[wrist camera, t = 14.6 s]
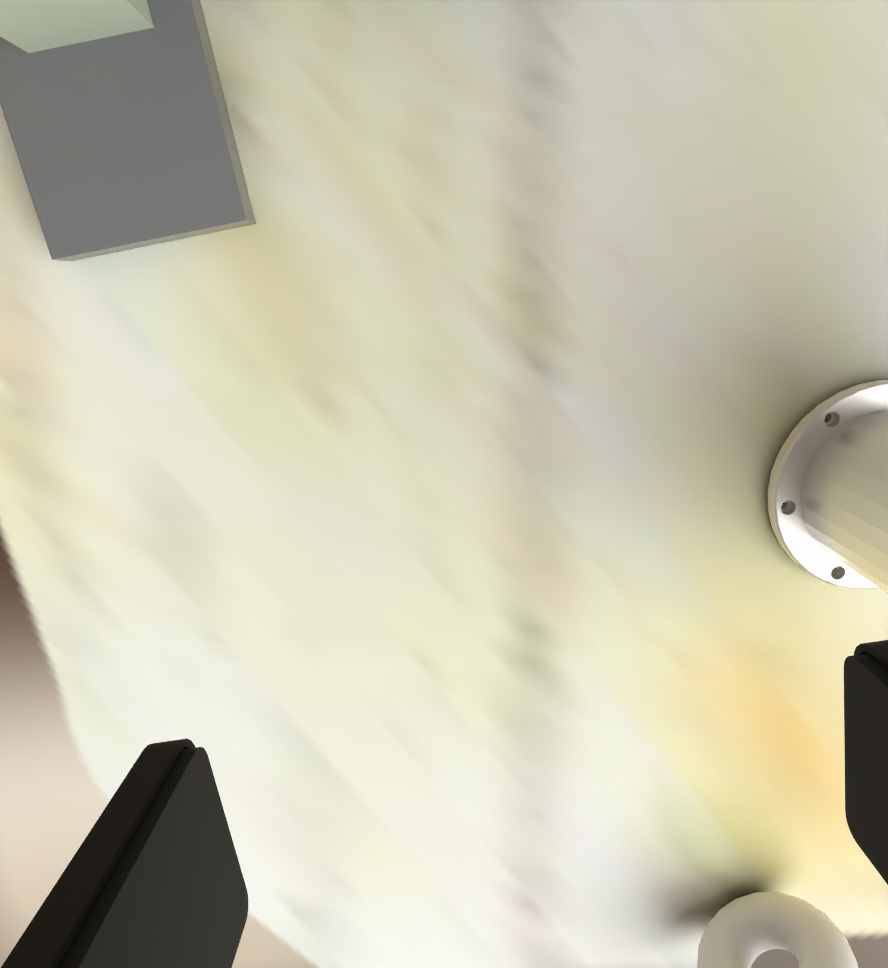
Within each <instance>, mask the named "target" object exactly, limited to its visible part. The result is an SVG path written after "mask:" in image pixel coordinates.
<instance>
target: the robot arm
mask: <svg viewBox="0 0 888 968" xmlns="http://www.w3.org/2000/svg"><path fill="white" fill-rule="evenodd" d="M826 415H827V418H826V419H825V417H826ZM783 503H784V505H783V506H782V504H783ZM768 513H769V517H770V522H771V526H772V529H773V531H774V533H775V536H776V538H777V540H778V542H779V544H780V545H781V547H782V548H783V549H784V551H785V552H786V553H787V554H788V556H789V557H790V558H791V559H792V560H793V561H795V562H796V563H797V564H798V565H799V566H801V567H802V568H803V569H804V570H806V571H807V572H809V573H810V574H812V575H813V576H815V577H817V578H818V579H820V580H823V581H825V582H827V583H830V584H833V585H837V586H842V587H848V588H877V587H879V588H881V589H882V590H884V591H885V592H887V593H888V380H877V381H872V382H867V383H861V384H858V385H855V386H853V387H850V388H848V389H845V390H843V391H840V392H838V393H836V394H835V395H833V396H831V397H830V398H828V399H826V400H825V401H823V402H821V403H820V404H819V405H817V406H816V407H815V408H814V409H813V410H812V411H810V412H809V413H808V414H807V415H806V416H805V417H803V419H802V420H801V421H800V422H799V423H798V424H797V426H796V427H795V428H794V429H793V430H792V432H791V433H790V434H789V436H788V437H787V439H786V441H785V442H784V444H783V446H782V447H781V449H780V451H779V452H778V455H777V458H776V460H775V463H774V466H773V468H772V471H771V475H770V481H769V487H768ZM844 720H845V811H846V819H847V823H848V826H849V829H850V831H851V833H852V835H853V838H854V839H855V841H856V842H857V844H858V845H859V847H860V848H861V849H862V851H863V852H864V853H865V855H866V856H867V857H868V859H869V860H870V861H871V863H872V864H873V865H874V867H875V868H876V869H877V871H878V872H879V873H880V875H881V876H882V877H883V879H884V880H885V882H886V883H887V884H888V640H885V641H878V642H871V643H864V644H860V645H858V646H857V647H856V649H855V652H854V656H848V657H847V658H846V660H845V662H844ZM247 913H248V894H247V889H246V886H245V882H244V879H243V875H242V872H241V868H240V865H239V862H238V858H237V855H236V851H235V848H234V844H233V841H232V838H231V834H230V831H229V827H228V824H227V820H226V817H225V813H224V810H223V807H222V803H221V800H220V796H219V793H218V789H217V786H216V783H215V779H214V776H213V772H212V769H211V765H210V762H209V758H208V755H207V753H206V751H205V750H204V748H202V747H198V748H195V746H194V744H193V743H192V741H191V740H189V739H182V740H175V741H168V742H161V743H154V744H150V745H148V746H147V747H146V748H145V749H144V750H143V752H142V753H141V755H140V756H139V758H138V759H137V761H136V762H135V764H134V765H133V767H132V768H131V770H130V771H129V773H128V774H127V776H126V778H125V779H124V781H123V782H122V784H121V785H120V787H119V788H118V790H117V791H116V793H115V794H114V796H113V797H112V799H111V800H110V802H109V804H108V805H107V807H106V808H105V810H104V811H103V813H102V814H101V816H100V817H99V819H98V820H97V822H96V823H95V825H94V827H93V828H92V829H91V831H90V833H89V834H88V836H87V837H86V839H85V840H84V842H83V843H82V845H81V846H80V848H79V849H78V851H77V852H76V854H75V855H74V857H73V858H72V860H71V862H70V863H69V865H68V866H67V868H66V869H65V871H64V872H63V874H62V875H61V877H60V879H59V880H58V882H57V883H56V884H55V886H54V888H53V889H52V891H51V892H50V894H49V895H48V897H47V898H46V900H45V901H44V903H43V904H42V906H41V907H40V909H39V910H38V912H37V914H36V915H35V917H34V918H33V920H32V921H31V923H30V924H29V926H28V927H27V929H26V930H25V932H24V933H23V935H22V936H21V938H20V939H19V941H18V943H17V944H16V946H15V947H14V949H13V950H12V952H11V953H10V955H9V956H8V958H7V959H6V961H5V962H4V964H3V965H2V967H1V968H231V967H232V964H233V960H234V958H235V954H236V951H237V948H238V945H239V942H240V939H241V935H242V932H243V929H244V926H245V923H246V919H247Z"/></svg>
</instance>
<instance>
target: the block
mask: <svg viewBox="0 0 888 968" xmlns="http://www.w3.org/2000/svg"><path fill="white" fill-rule="evenodd" d="M150 28H154V26H153V22H152V18H151V15H150V11H149V7H148V3H147V0H0V37H2V38H4V39H5V40H7V41H9V42H10V43H12V44H14V45H16V46H17V47H19V48H21V49H22V50H24V51H26V52H27V53H32V52H37V51H42V50H47V49H52V48H57V47H61V46H66V45H71V44H76V43H81V42H86V41H91V40H96V39H101V38H106V37H110V36H115V35H120V34H125V33H130V32H135V31H140V30H145V29H150Z"/></svg>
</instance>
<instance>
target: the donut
mask: <svg viewBox="0 0 888 968" xmlns="http://www.w3.org/2000/svg"><path fill="white" fill-rule="evenodd" d="M774 948H775V949H785V950H788V951H790V952H791V953H793V954H794V955H795V956H796V957H797V958H798V961H799V963H800V964H799V965H800V968H858V965H857V961H856V959H855V957H854V955H853V952H852V950H851V948H850V946H849V944H848V941H847V939H846V937H845V936H844V935H843V934H842V932H841V931H840V930H839V929H838V928H837V927H836V926H835V924H834V923H833V922H832V921H831V920H830V919H829V918H828V916H827V915H826V914H825V913H823V912H822V911H820V910H819V909H817V908H815V907H814V906H812V905H811V904H809V903H808V902H806V901H804V900H802V899H800V898H796V897H793V896H789V895H786V894H783V893H779V892H756V893H753V894H749V895H746V896H742V897H739V898H736V899H735V900H733V901H732V902H730V903H729V904H727V905H726V906H724V907H723V908H721V909H720V910H719V911H718V912H717V913H716V915H715V916H714V917H713V918H712V920H711V921H710V922H709V923H708V924H707V926H706V928H705V931H704V934H703V936H702V939H701V941H700V944H699V948H698V962H697V968H751V965H752V963H753V962H754V960H755V959H756V957H757V956H758V955H760V954H761V953H763V952H764V951H767V950H771V949H774Z"/></svg>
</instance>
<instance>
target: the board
mask: <svg viewBox="0 0 888 968" xmlns="http://www.w3.org/2000/svg"><path fill="white" fill-rule="evenodd" d="M147 3H148V7H149V11H150V15H151V18H152V22H153V26H154V28H150V29H145V30H140V31H135V32H130V33H125V34H120V35H115V36H110V37H106V38H101V39H96V40H91V41H86V42H81V43H76V44H71V45H66V46H61V47H57V48H52V49H47V50H42V51H37V52H32V53H27V52H26V51H24V50H22V49H21V48H19V47H17V46H16V45H14V44H12V43H10V42H9V41H7V40H5V39H4V38H2V37H0V104H1V107H2V110H3V113H4V116H5V119H6V122H7V125H8V128H9V131H10V134H11V137H12V140H13V143H14V146H15V149H16V152H17V155H18V158H19V161H20V164H21V167H22V170H23V173H24V176H25V179H26V182H27V185H28V188H29V191H30V194H31V197H32V200H33V203H34V206H35V209H36V212H37V215H38V218H39V221H40V224H41V227H42V230H43V233H44V236H45V239H46V243H47V246H48V249H49V252H50V255H51V258H52V260H64V261H74V260H78V259H83V258H88V257H93V256H98V255H103V254H108V253H113V252H118V251H123V250H128V249H133V248H138V247H143V246H147V245H152V244H157V243H162V242H167V241H172V240H177V239H182V238H187V237H192V236H197V235H202V234H207V233H212V232H216V231H221V230H226V229H231V228H236V227H241V226H246V225H251V224H256V223H255V219H254V215H253V211H252V207H251V203H250V199H249V195H248V191H247V187H246V183H245V179H244V175H243V171H242V167H241V163H240V159H239V155H238V151H237V147H236V143H235V139H234V135H233V131H232V127H231V123H230V119H229V115H228V111H227V107H226V103H225V99H224V95H223V91H222V87H221V83H220V79H219V75H218V71H217V67H216V63H215V59H214V55H213V51H212V47H211V43H210V39H209V35H208V31H207V27H206V24H205V20H204V16H203V12H202V8H201V4H200V0H147Z"/></svg>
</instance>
